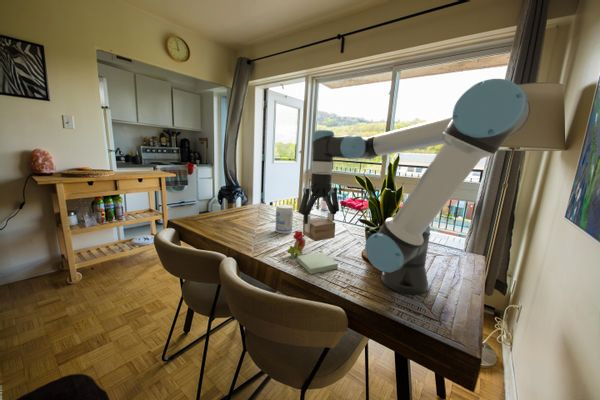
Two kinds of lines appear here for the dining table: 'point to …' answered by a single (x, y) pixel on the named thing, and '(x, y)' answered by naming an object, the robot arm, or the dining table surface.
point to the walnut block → (320, 229)
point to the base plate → (317, 262)
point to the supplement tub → (284, 219)
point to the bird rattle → (297, 244)
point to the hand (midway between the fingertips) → (318, 230)
